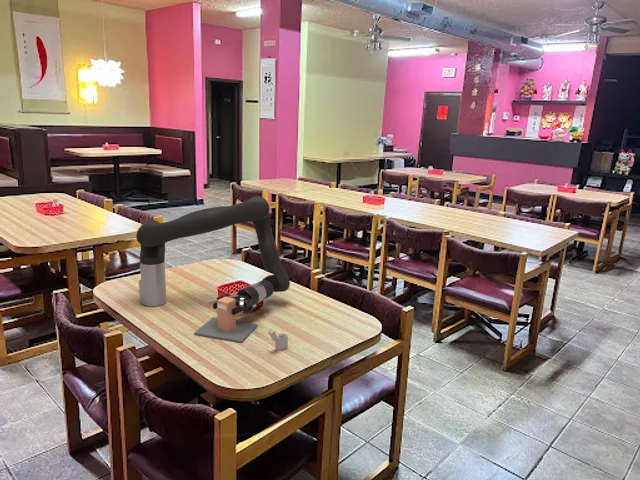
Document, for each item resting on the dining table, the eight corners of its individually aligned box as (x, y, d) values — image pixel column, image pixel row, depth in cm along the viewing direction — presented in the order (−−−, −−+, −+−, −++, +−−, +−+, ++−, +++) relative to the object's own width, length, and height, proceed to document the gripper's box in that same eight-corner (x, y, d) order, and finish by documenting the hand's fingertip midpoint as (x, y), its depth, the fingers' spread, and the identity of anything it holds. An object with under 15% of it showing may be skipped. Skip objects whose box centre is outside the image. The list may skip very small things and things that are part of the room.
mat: (194, 334, 169) (194, 332, 169) (213, 319, 182) (213, 317, 182) (241, 343, 164) (241, 341, 164) (257, 326, 177) (257, 324, 177)
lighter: (284, 345, 164) (285, 323, 162) (287, 347, 163) (288, 325, 161) (267, 351, 160) (268, 329, 157) (270, 353, 158) (271, 331, 156)
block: (217, 329, 172) (216, 300, 169) (226, 324, 176) (225, 296, 173) (227, 332, 170) (226, 303, 167) (235, 327, 174) (235, 299, 171)
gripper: (237, 282, 185) (207, 294, 172) (267, 290, 178) (238, 304, 165) (237, 300, 187) (207, 314, 174) (266, 309, 180) (238, 324, 167)
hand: (222, 309), depth 169 cm, fingers open, 8 cm apart
